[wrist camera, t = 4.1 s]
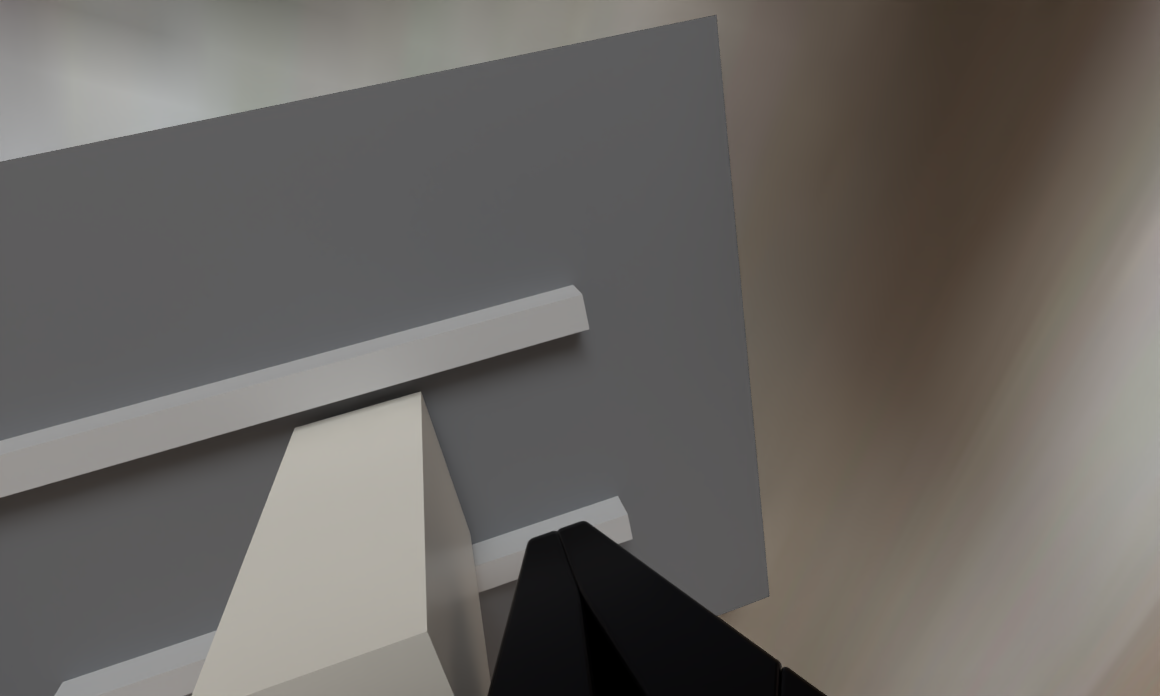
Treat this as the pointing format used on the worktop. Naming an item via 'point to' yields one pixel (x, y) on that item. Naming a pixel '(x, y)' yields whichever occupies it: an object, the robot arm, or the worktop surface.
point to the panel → (372, 340)
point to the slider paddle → (356, 571)
